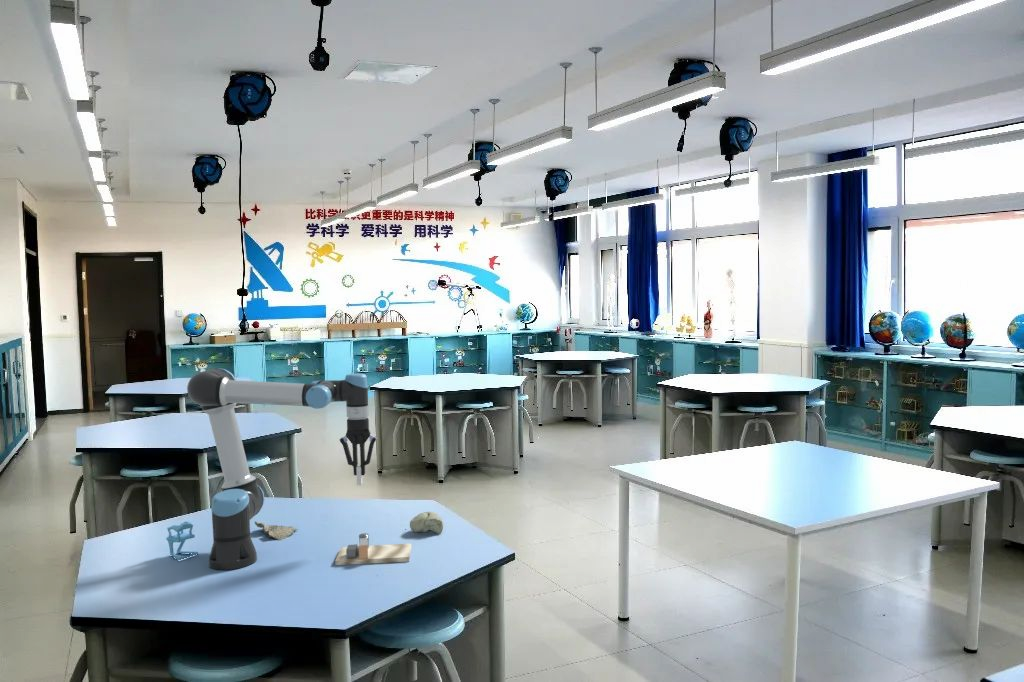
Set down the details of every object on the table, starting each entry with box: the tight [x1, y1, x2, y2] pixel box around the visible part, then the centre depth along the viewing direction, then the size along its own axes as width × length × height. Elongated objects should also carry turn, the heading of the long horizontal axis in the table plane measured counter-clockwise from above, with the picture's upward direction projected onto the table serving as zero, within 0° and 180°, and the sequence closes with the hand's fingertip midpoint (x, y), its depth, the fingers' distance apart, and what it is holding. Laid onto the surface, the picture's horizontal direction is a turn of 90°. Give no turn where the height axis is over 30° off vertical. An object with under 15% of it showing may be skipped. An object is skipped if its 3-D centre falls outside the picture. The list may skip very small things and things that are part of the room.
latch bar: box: [358, 532, 370, 559], centre depth 258 cm, size 13×3×4 cm, turn 10°
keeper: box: [346, 544, 359, 559], centre depth 255 cm, size 3×5×3 cm, turn 4°
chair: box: [165, 521, 199, 561], centre depth 263 cm, size 8×8×12 cm
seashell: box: [409, 511, 444, 534], centre depth 284 cm, size 13×8×10 cm
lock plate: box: [334, 543, 412, 566], centre depth 258 cm, size 24×14×2 cm, turn 94°
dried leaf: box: [254, 521, 298, 541], centre depth 287 cm, size 18×16×5 cm
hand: (359, 484), depth 269 cm, fingers closed
